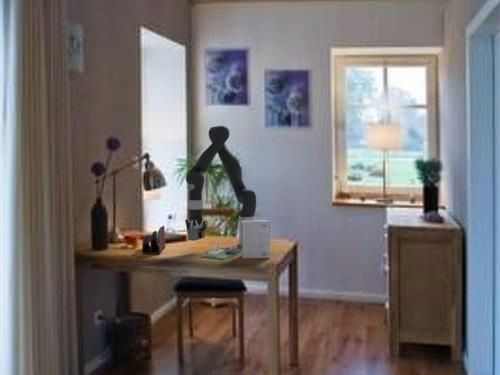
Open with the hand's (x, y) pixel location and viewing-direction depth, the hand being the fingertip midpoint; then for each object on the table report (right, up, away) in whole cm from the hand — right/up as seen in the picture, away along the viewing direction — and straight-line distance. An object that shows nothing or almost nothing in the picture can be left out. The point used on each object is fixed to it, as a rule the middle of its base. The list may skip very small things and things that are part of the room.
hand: (196, 237), depth 372 cm
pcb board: (+14, -9, -5) cm, 18 cm away
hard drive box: (+33, -10, -9) cm, 36 cm away
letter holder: (-25, -8, +5) cm, 27 cm away
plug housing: (0, -1, 0) cm, 1 cm away
